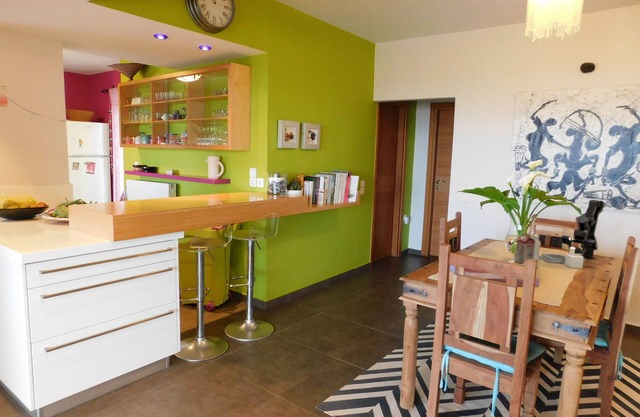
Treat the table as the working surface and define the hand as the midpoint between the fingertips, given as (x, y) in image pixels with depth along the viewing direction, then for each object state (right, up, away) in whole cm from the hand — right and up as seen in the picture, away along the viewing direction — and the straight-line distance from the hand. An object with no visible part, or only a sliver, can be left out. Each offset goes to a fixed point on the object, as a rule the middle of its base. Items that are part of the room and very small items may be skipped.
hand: (575, 252), depth 258 cm
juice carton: (-38, -9, -13) cm, 41 cm away
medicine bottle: (0, -9, +1) cm, 9 cm away
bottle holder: (-4, -6, +14) cm, 16 cm away
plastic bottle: (-28, -8, -3) cm, 29 cm away
